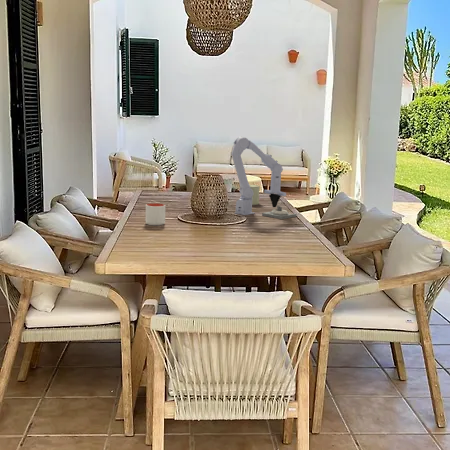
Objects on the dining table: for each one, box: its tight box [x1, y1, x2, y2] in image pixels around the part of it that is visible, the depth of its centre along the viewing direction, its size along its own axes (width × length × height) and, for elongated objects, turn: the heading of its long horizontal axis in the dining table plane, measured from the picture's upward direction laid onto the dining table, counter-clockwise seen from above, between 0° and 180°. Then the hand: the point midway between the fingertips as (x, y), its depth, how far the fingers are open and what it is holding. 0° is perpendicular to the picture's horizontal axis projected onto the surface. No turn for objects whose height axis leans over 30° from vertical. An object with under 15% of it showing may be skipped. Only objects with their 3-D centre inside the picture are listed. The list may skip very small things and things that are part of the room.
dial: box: [271, 204, 288, 215], centre depth 349 cm, size 11×9×4 cm
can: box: [249, 184, 260, 206], centre depth 389 cm, size 9×9×12 cm
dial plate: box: [261, 210, 297, 220], centre depth 349 cm, size 14×14×2 cm
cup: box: [145, 202, 166, 226], centre depth 310 cm, size 10×10×10 cm
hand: (274, 207), depth 355 cm, fingers closed
